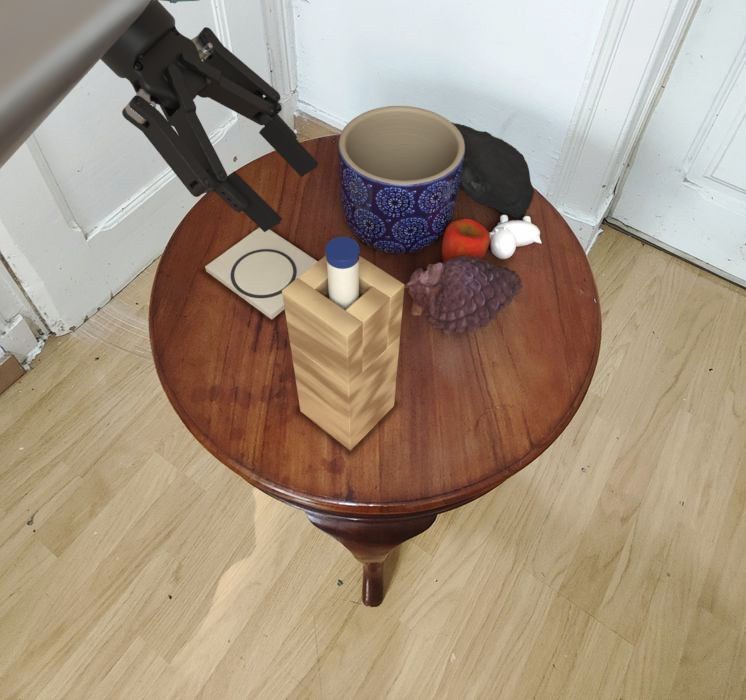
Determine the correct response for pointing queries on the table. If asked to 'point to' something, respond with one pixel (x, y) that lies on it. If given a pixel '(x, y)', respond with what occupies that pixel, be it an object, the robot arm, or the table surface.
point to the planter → (399, 177)
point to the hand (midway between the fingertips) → (292, 196)
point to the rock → (495, 173)
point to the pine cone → (462, 293)
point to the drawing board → (261, 269)
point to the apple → (465, 240)
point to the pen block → (345, 350)
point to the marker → (343, 271)
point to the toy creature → (512, 236)
